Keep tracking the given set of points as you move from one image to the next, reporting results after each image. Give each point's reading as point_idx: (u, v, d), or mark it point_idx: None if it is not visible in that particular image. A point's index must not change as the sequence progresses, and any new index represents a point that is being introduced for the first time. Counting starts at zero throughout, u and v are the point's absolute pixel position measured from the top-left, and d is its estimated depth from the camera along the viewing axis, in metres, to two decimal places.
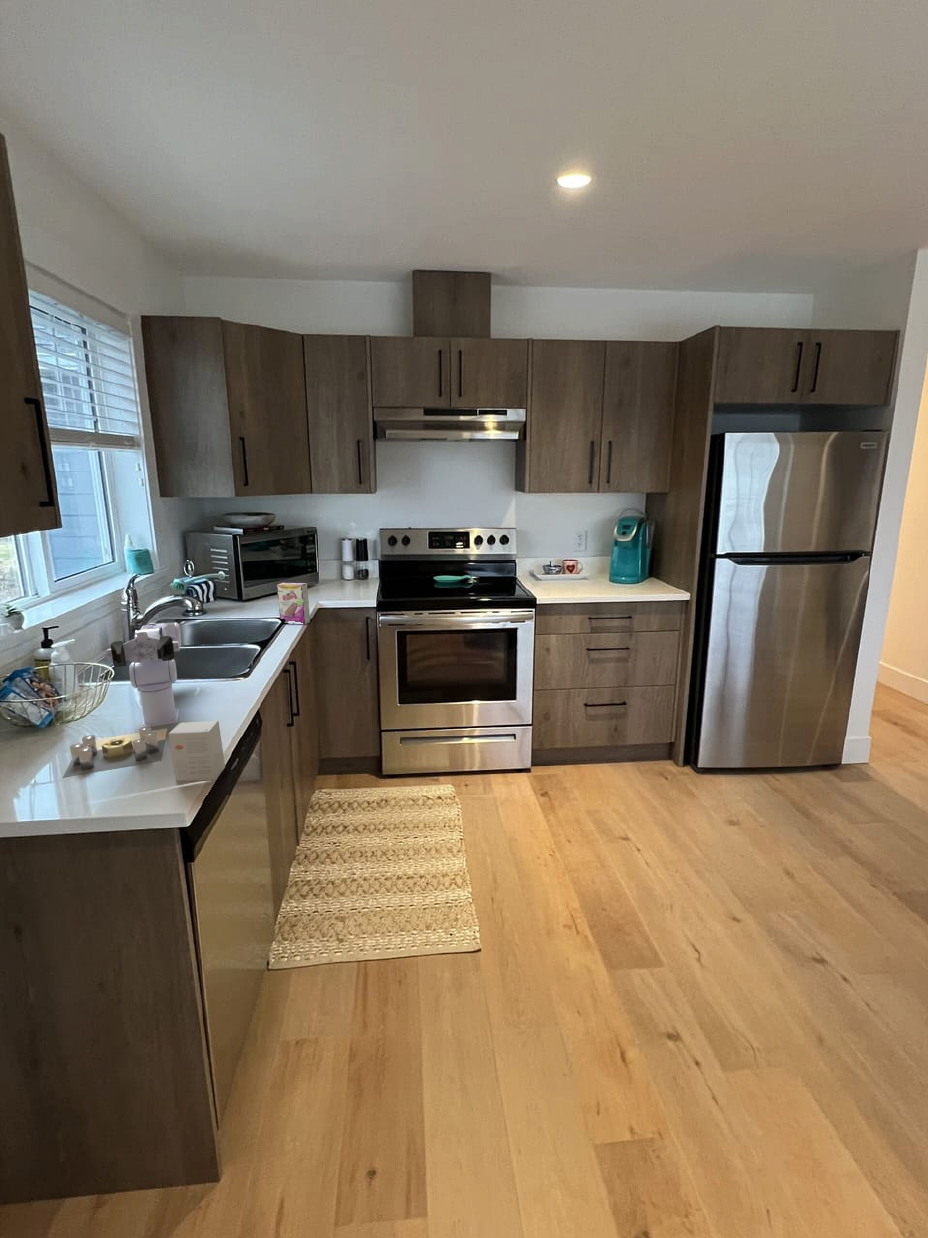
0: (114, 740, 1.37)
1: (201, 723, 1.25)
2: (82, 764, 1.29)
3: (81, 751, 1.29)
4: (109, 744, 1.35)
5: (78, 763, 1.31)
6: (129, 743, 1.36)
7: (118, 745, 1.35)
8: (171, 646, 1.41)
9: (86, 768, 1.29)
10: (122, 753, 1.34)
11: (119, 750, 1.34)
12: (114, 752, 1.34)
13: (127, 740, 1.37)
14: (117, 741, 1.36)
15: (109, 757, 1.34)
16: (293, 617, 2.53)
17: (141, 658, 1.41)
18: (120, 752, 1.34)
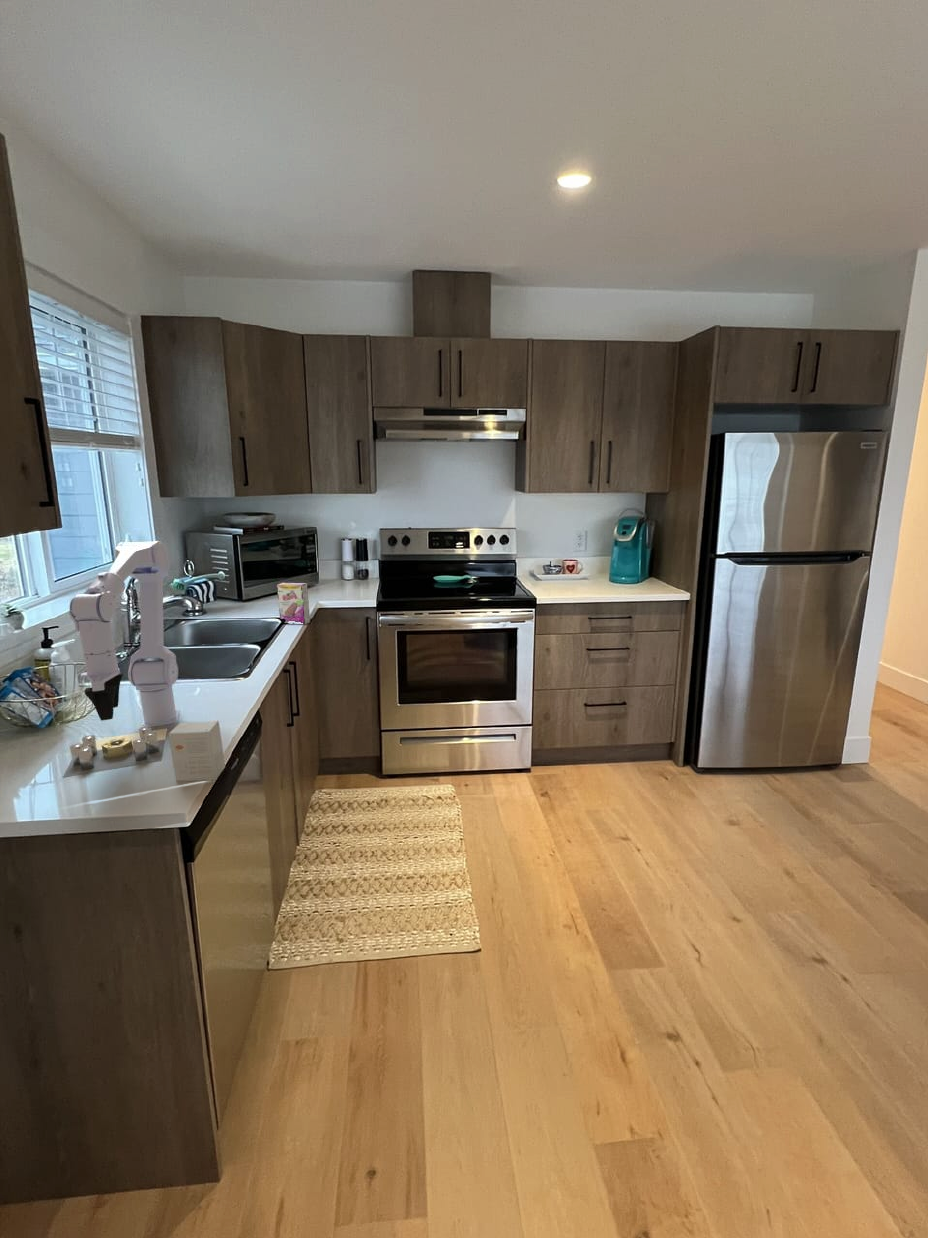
0: (114, 740, 1.37)
1: (201, 723, 1.25)
2: (82, 764, 1.29)
3: (81, 751, 1.29)
4: (109, 744, 1.35)
5: (78, 763, 1.31)
6: (129, 743, 1.36)
7: (118, 745, 1.35)
8: (98, 692, 1.26)
9: (86, 768, 1.29)
10: (122, 753, 1.34)
11: (119, 750, 1.34)
12: (114, 752, 1.34)
13: (127, 740, 1.37)
14: (117, 741, 1.36)
15: (109, 757, 1.34)
16: (294, 617, 2.53)
17: None
18: (120, 752, 1.34)
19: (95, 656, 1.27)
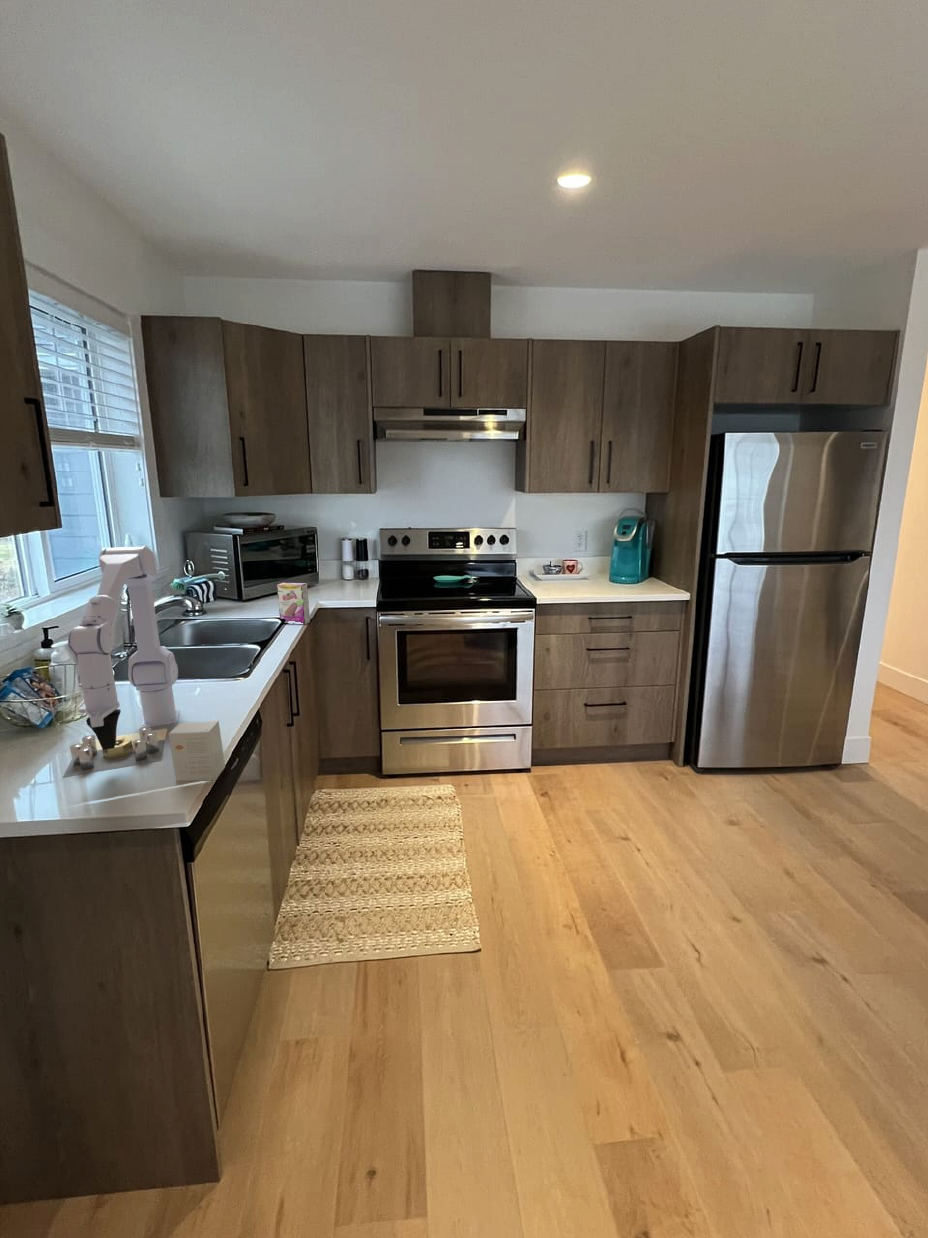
0: None
1: (201, 723, 1.25)
2: (82, 764, 1.29)
3: (81, 751, 1.29)
4: None
5: (78, 763, 1.31)
6: (129, 743, 1.36)
7: (118, 745, 1.35)
8: None
9: (86, 768, 1.29)
10: (122, 753, 1.34)
11: (119, 750, 1.34)
12: (114, 752, 1.34)
13: (127, 740, 1.37)
14: (117, 741, 1.36)
15: (109, 757, 1.34)
16: (293, 617, 2.53)
17: None
18: (120, 752, 1.34)
19: (94, 690, 1.22)
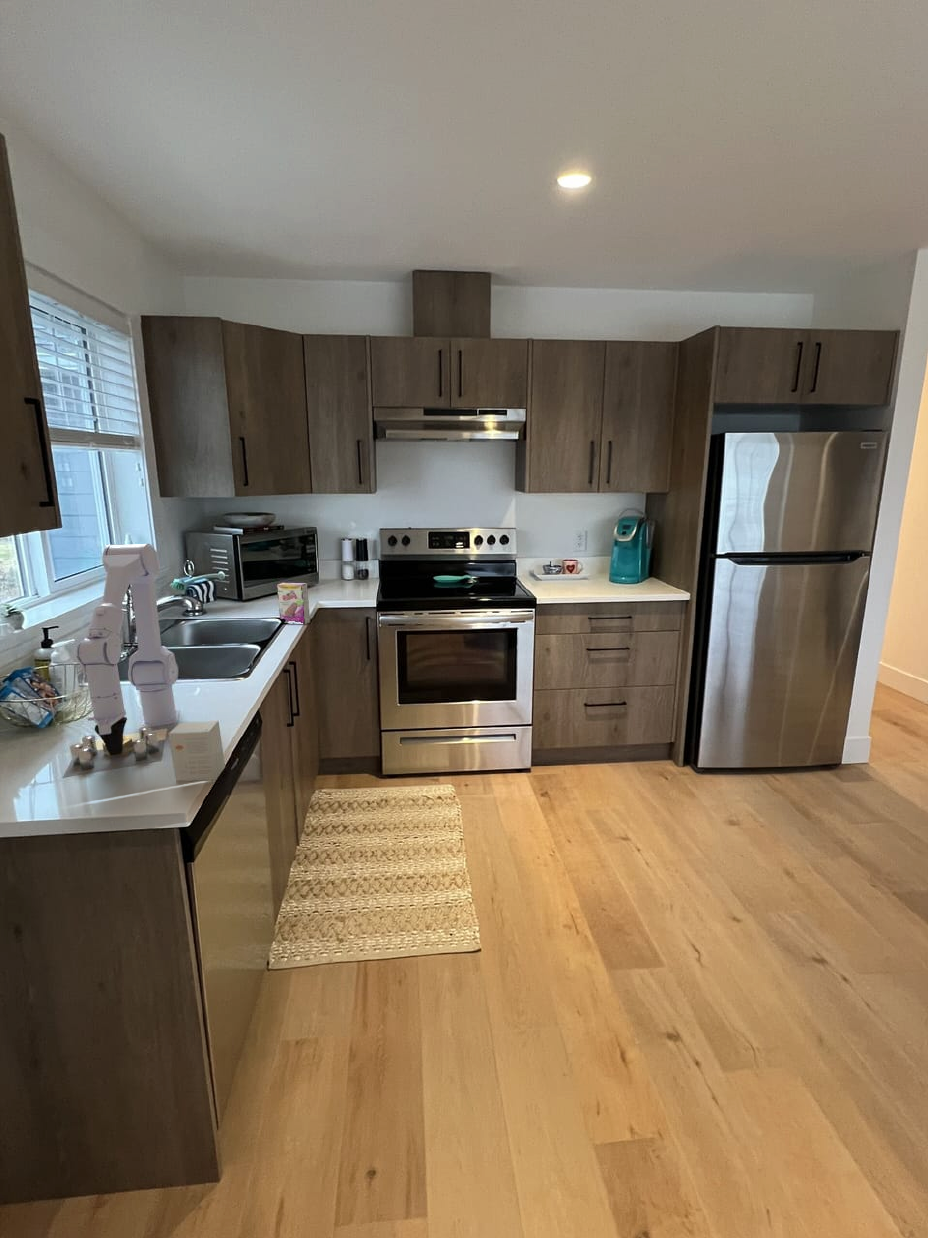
0: None
1: (201, 723, 1.25)
2: (82, 764, 1.29)
3: (81, 751, 1.29)
4: None
5: (78, 763, 1.31)
6: (129, 741, 1.37)
7: None
8: None
9: (86, 768, 1.29)
10: (123, 751, 1.35)
11: None
12: None
13: (127, 738, 1.38)
14: None
15: (109, 755, 1.35)
16: (293, 617, 2.53)
17: None
18: None
19: (102, 699, 1.28)
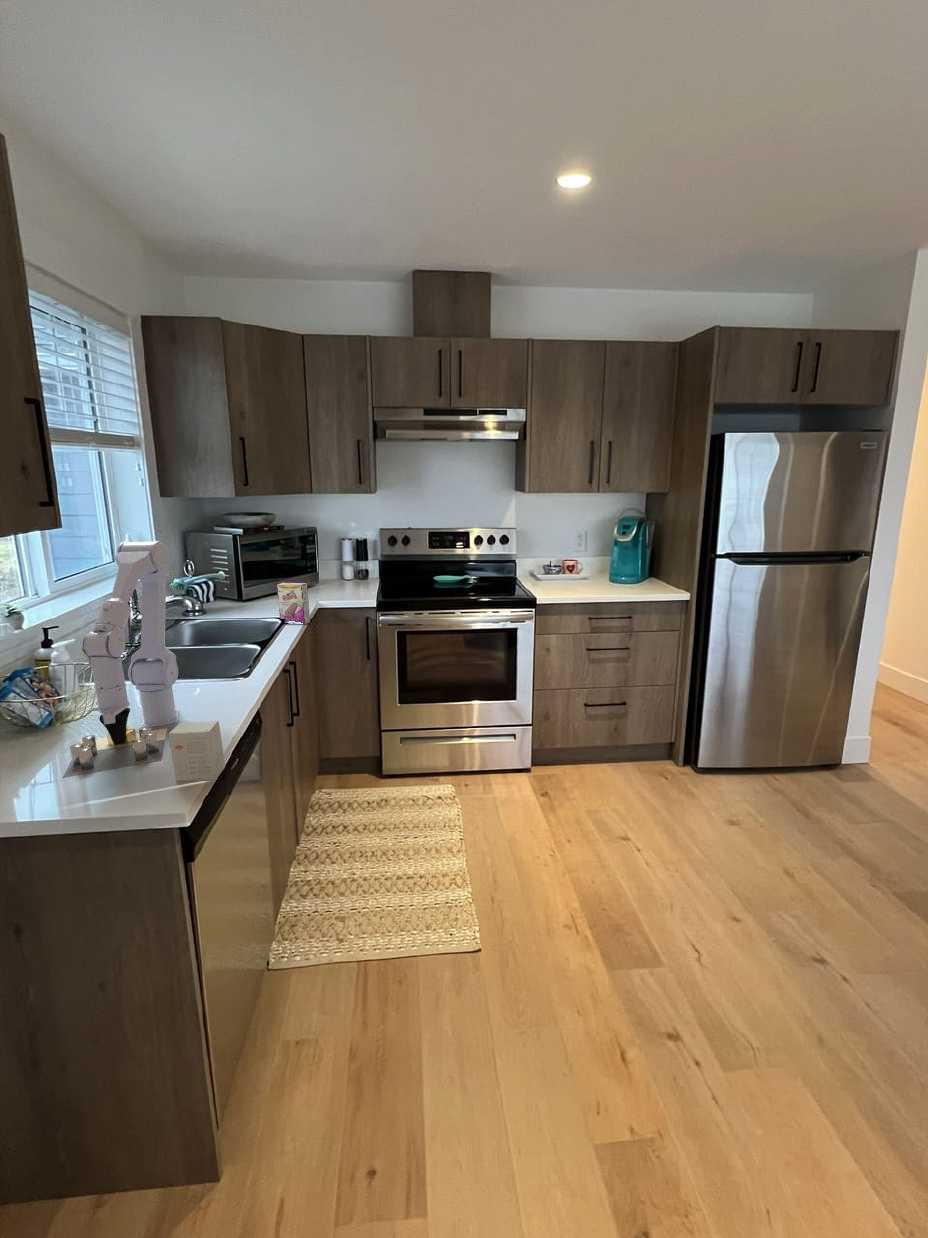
0: None
1: (201, 723, 1.25)
2: (82, 764, 1.29)
3: (81, 751, 1.29)
4: None
5: (78, 763, 1.31)
6: (133, 731, 1.43)
7: None
8: None
9: (86, 768, 1.29)
10: (126, 741, 1.41)
11: None
12: None
13: (131, 728, 1.44)
14: None
15: (113, 745, 1.40)
16: (293, 617, 2.53)
17: None
18: None
19: (106, 690, 1.34)
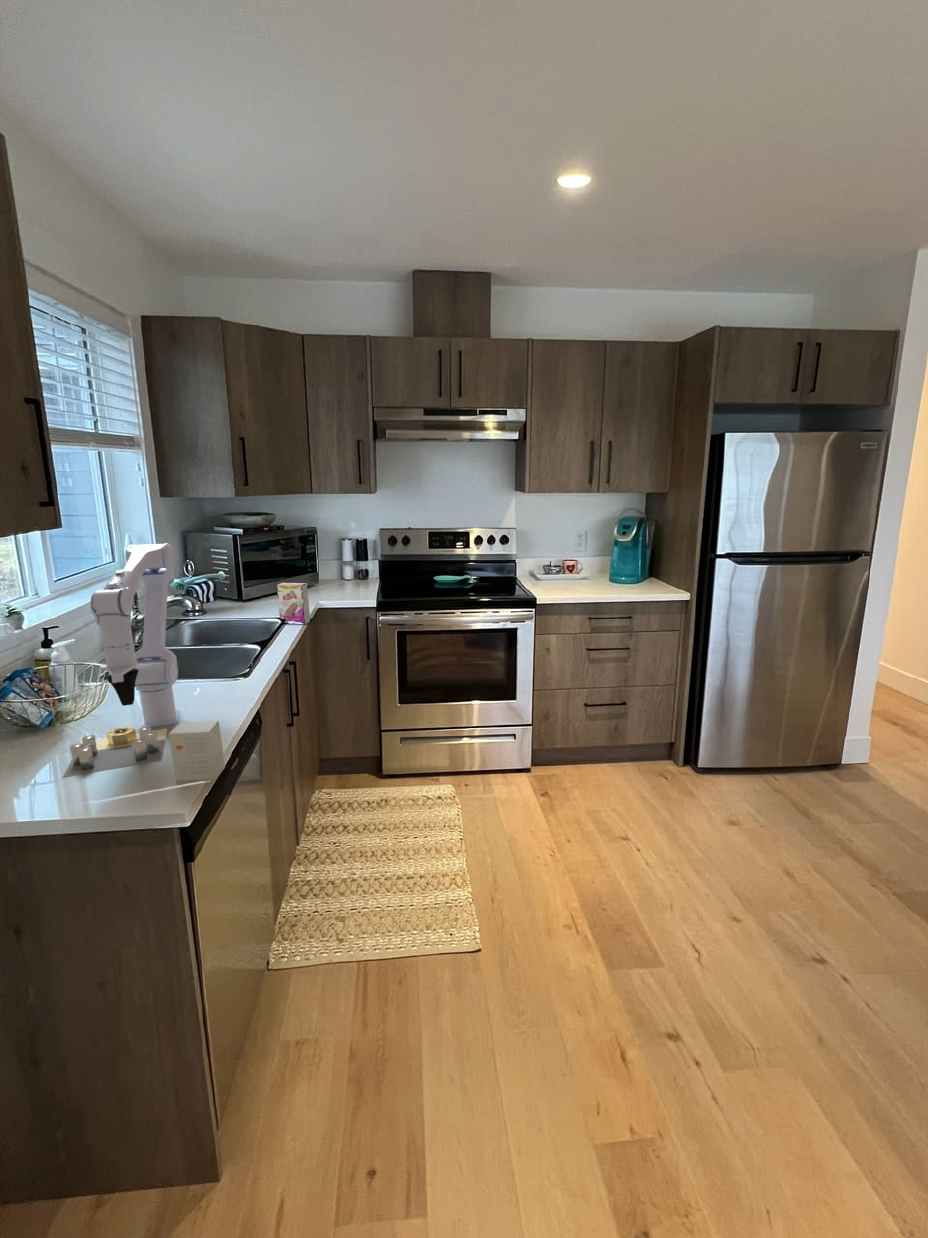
0: (118, 728, 1.44)
1: (201, 723, 1.25)
2: (82, 764, 1.29)
3: (81, 751, 1.29)
4: (114, 732, 1.42)
5: (78, 763, 1.31)
6: (133, 731, 1.43)
7: (122, 733, 1.41)
8: None
9: (86, 768, 1.29)
10: (126, 741, 1.41)
11: (123, 738, 1.41)
12: (118, 739, 1.40)
13: (131, 728, 1.44)
14: (121, 729, 1.43)
15: (113, 744, 1.40)
16: (293, 617, 2.53)
17: None
18: (124, 740, 1.41)
19: (114, 649, 1.32)
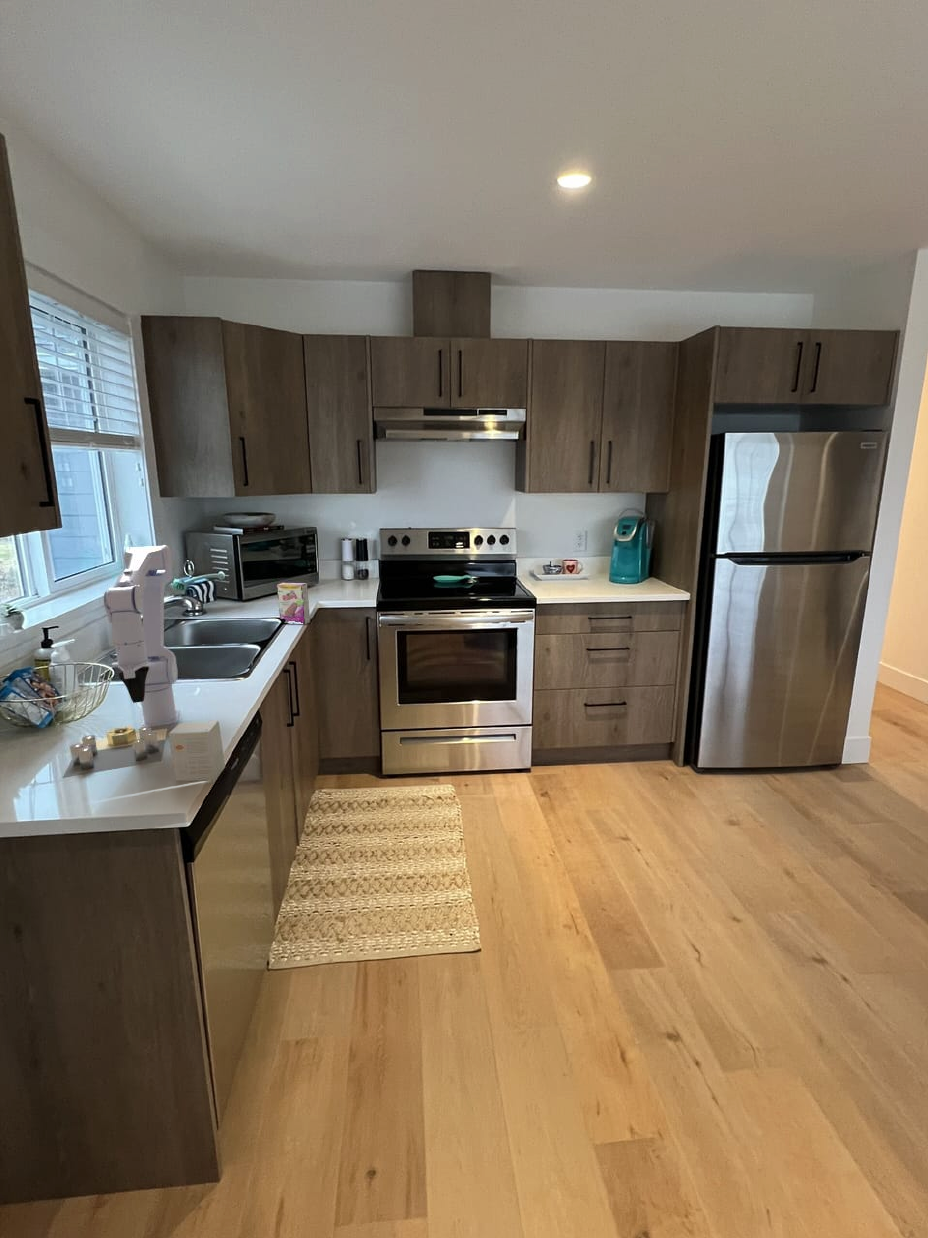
0: (118, 728, 1.44)
1: (201, 723, 1.25)
2: (82, 764, 1.29)
3: (81, 751, 1.29)
4: (114, 732, 1.42)
5: (78, 763, 1.31)
6: (133, 731, 1.43)
7: (122, 733, 1.41)
8: None
9: (86, 768, 1.29)
10: (126, 741, 1.41)
11: (123, 738, 1.41)
12: (118, 739, 1.40)
13: (131, 728, 1.44)
14: (121, 729, 1.43)
15: (113, 744, 1.40)
16: (294, 617, 2.53)
17: None
18: (124, 740, 1.41)
19: (126, 646, 1.34)
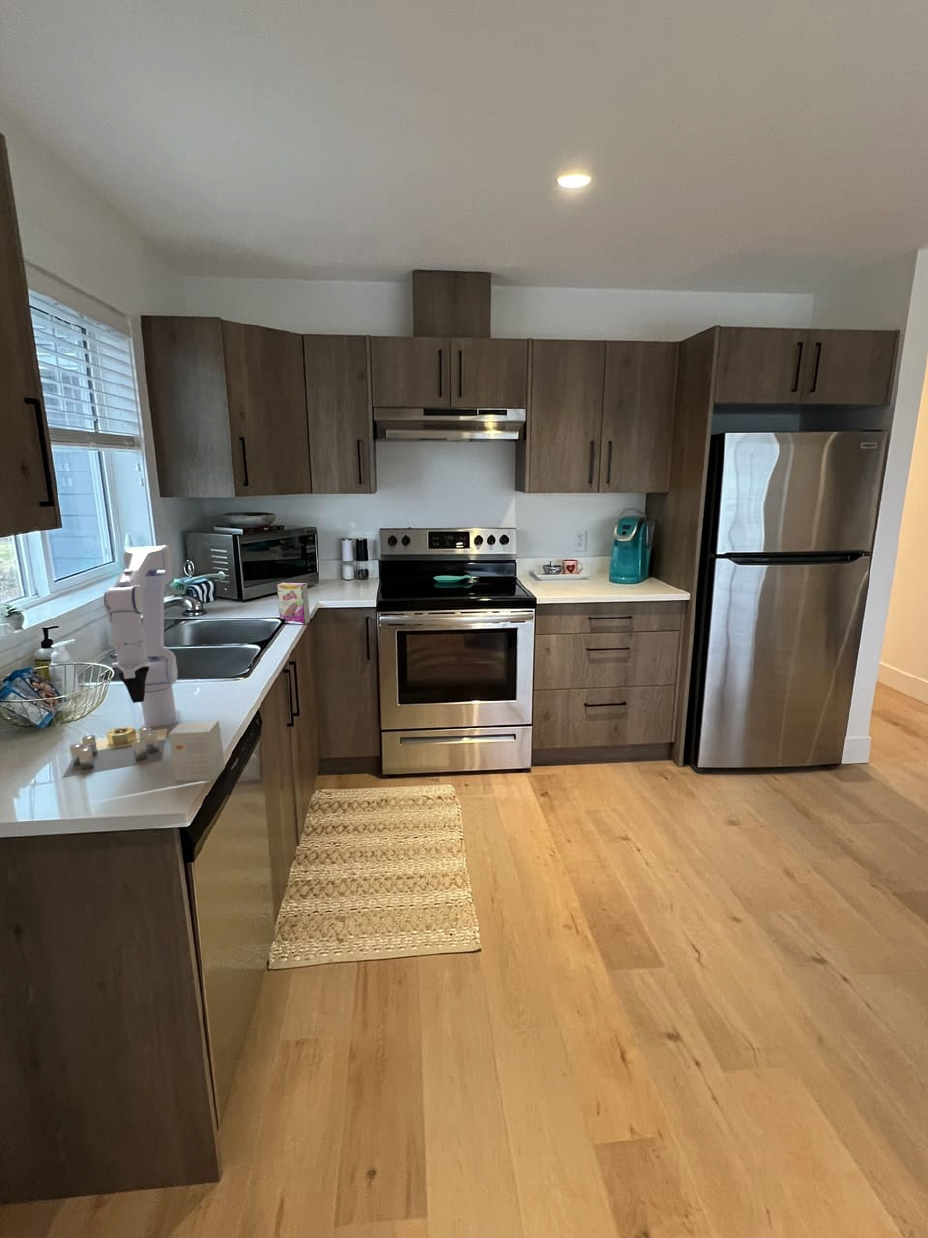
0: (118, 728, 1.44)
1: (201, 723, 1.25)
2: (82, 764, 1.29)
3: (81, 751, 1.29)
4: (114, 732, 1.42)
5: (78, 763, 1.31)
6: (133, 731, 1.43)
7: (122, 733, 1.41)
8: None
9: (86, 768, 1.29)
10: (126, 741, 1.41)
11: (123, 738, 1.41)
12: (118, 739, 1.40)
13: (131, 728, 1.44)
14: (121, 729, 1.43)
15: (113, 744, 1.40)
16: (293, 617, 2.53)
17: None
18: (124, 740, 1.41)
19: (126, 646, 1.34)
